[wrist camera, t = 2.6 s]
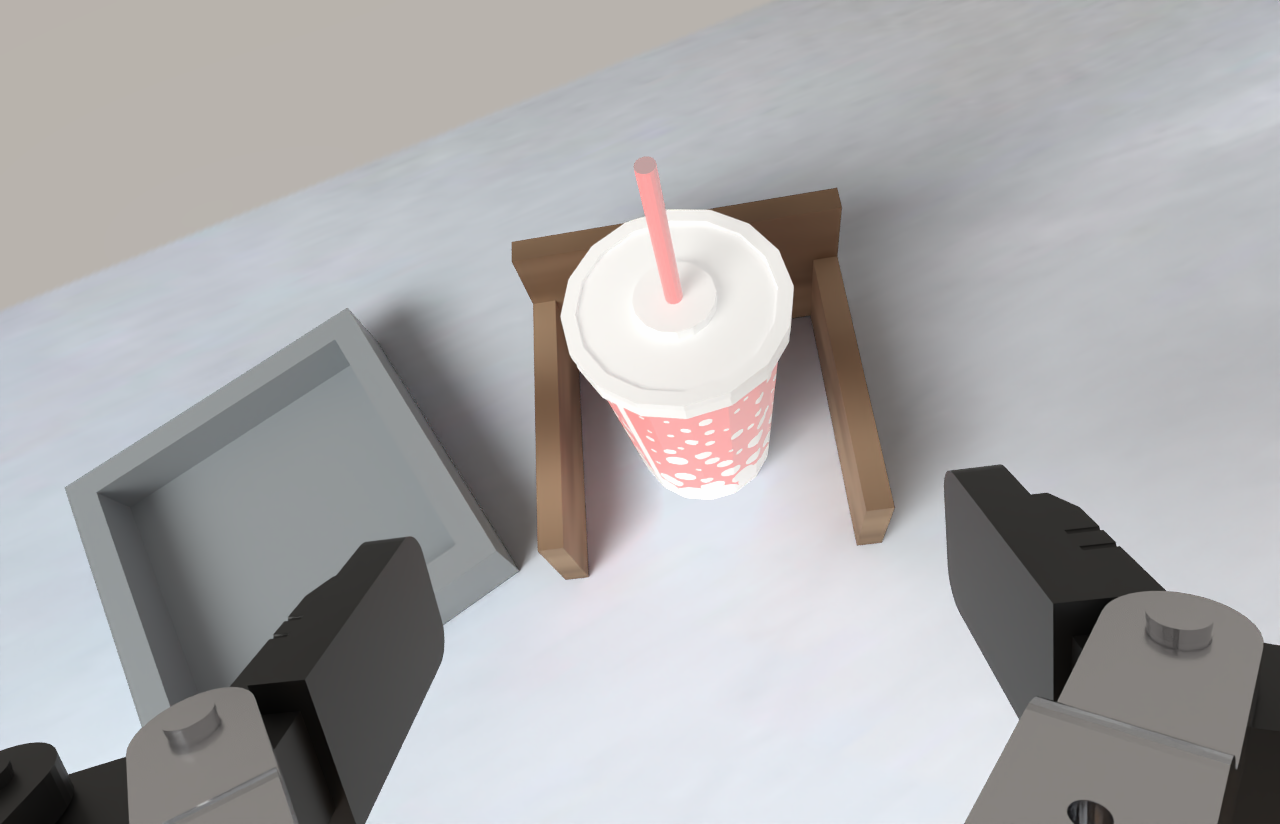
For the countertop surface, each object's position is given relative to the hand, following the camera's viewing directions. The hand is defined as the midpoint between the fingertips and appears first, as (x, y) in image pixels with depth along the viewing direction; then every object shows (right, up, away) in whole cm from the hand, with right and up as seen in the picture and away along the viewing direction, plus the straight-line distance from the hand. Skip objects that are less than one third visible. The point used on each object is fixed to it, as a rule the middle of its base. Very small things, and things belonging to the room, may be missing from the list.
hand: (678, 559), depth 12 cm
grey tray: (-13, -2, +18) cm, 22 cm away
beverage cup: (+2, +1, +17) cm, 17 cm away
